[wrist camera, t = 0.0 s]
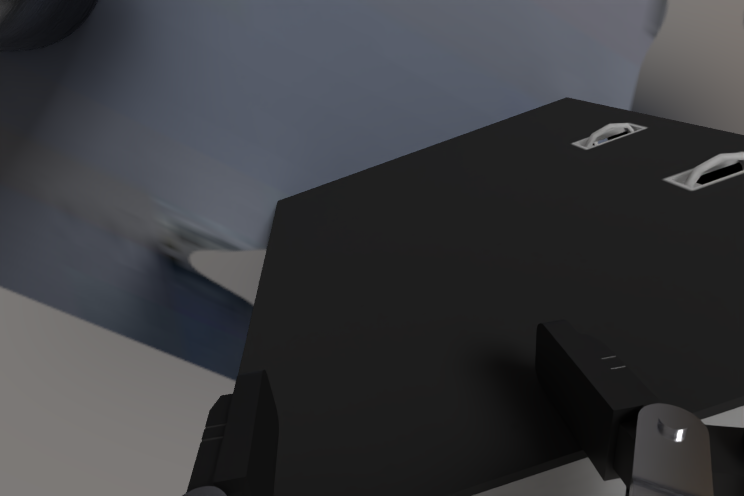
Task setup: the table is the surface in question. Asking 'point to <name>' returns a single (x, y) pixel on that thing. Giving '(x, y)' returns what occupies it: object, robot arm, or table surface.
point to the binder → (498, 301)
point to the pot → (39, 21)
